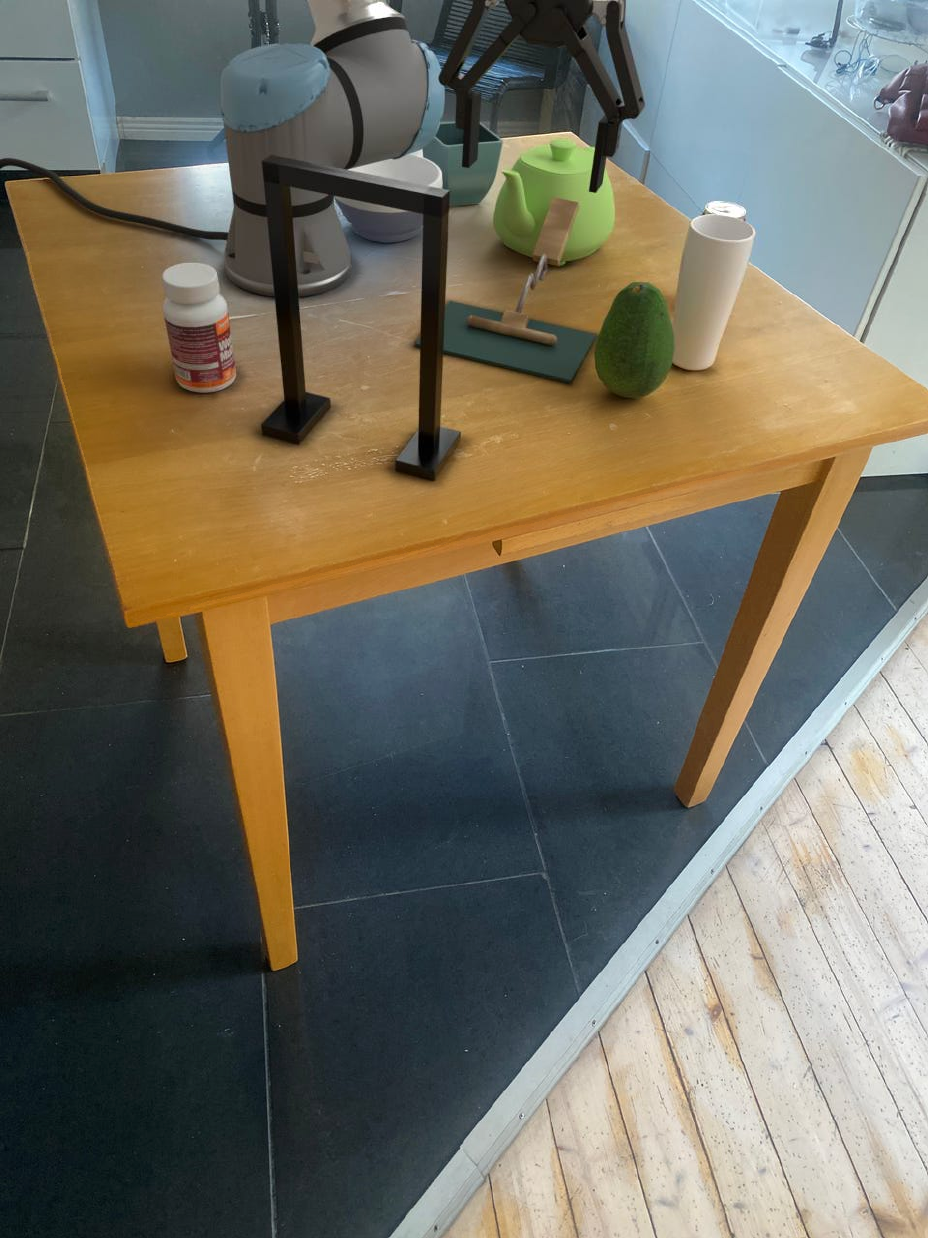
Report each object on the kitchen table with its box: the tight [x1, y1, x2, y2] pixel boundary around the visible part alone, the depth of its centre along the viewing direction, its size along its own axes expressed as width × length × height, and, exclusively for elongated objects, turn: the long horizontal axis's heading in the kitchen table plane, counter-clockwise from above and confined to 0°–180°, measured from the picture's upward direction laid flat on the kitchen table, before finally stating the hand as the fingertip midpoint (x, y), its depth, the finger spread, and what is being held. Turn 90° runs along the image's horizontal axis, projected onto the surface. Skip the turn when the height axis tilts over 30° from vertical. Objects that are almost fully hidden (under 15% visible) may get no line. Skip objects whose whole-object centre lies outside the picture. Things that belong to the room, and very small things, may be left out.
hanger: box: [466, 197, 579, 346], centre depth 111 cm, size 11×6×20 cm
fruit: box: [593, 281, 675, 400], centre depth 96 cm, size 8×8×12 cm
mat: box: [414, 300, 598, 384], centre depth 107 cm, size 18×11×1 cm, turn 70°
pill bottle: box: [161, 262, 237, 394], centre depth 94 cm, size 6×6×11 cm
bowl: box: [334, 153, 443, 244], centre depth 124 cm, size 14×14×8 cm
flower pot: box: [421, 121, 504, 207], centre depth 131 cm, size 9×9×9 cm
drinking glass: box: [671, 214, 756, 371], centre depth 101 cm, size 7×7×15 cm
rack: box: [260, 155, 462, 482], centre depth 84 cm, size 18×7×25 cm, turn 70°
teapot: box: [492, 137, 616, 267], centre depth 120 cm, size 22×15×13 cm
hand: (531, 175), depth 97 cm, fingers open, 13 cm apart
